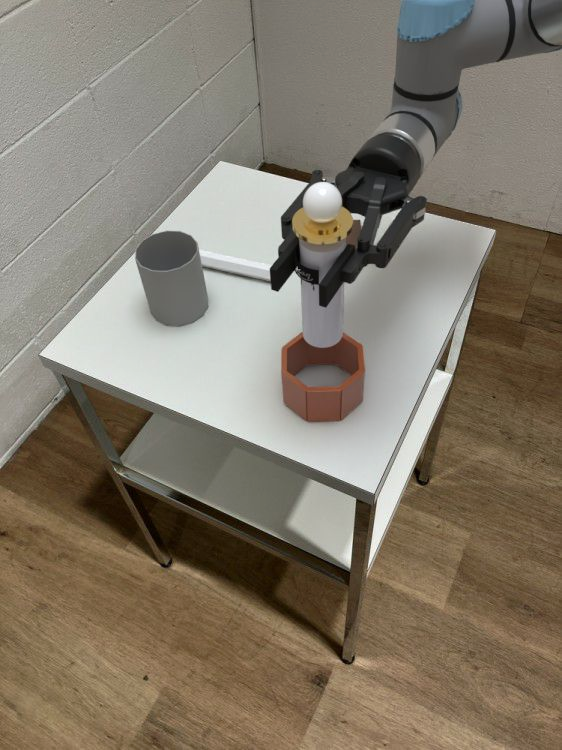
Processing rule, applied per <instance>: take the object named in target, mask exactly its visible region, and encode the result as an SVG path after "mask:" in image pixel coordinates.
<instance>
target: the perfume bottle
mask: <svg viewBox="0 0 562 750" xmlns="http://www.w3.org/2000/svg"><path fill="white" fill-rule="evenodd" d="M353 220H354V218H353V215H352V213H350V212H349V211H348V210H347V209H345V208H344V207H342V197H341V194H340V192H339V190H338V189H337V188H336V187H335V186H334V185H332V184H330V183H328V182H318V183H315V184H313V185H312V186H310V187H309V188H308V189H307V191H306V192H305V195H304V197H303V208H301V209H299V210H298V211H297V212H296V213H295V214H294V216H293V219H292V228H293V231H294V233H295V235H296V236H297V237H298V238H299V249H300V263H299V262H298V261H297V258H295V257H296V255H295V256H294V263H295V264H294V265H295V268H296V267H297V268H296V269H295V271H294V272H293V274H294V275H297V277H298V278H299V279H300V299H301V303H300V304H301V326H302V328H301V329H302V331H303V337H304V339H305V341H306V342H307V343H308V344H310V345H312V346H315V347H319V348H326V347H331V346H333V345H335V344H337V343H338V342H339V341H340V340H341V338H342V336H343V332H344V310H345V282H344V283H343V284H342V285H341V287H340V288H339V290H338V291H337V293H336V294H335V296H334V297H333V299H332V300H331V301H330V303H329V304H328V306H327V307H326V308H325V307H322V306H319V283H320V282H321V281H322V279H323V278H324V276H325V275H326V274H327V272H328V271H329V270H330V268H331V267H332V265H333V264H334V263H335V261H336V260H337V258H338V257H339V256H340V254H341V253H342V252H343V251H344V249H345V247H346V237H347V236H348V235H349V234H350V233H351V231H352V228H353ZM295 238H296V237H295ZM293 242H294V241H293ZM294 252H295V251H294ZM302 331H301V332H302Z"/></svg>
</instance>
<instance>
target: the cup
mask: <svg viewBox="0 0 562 750" xmlns="http://www.w3.org/2000/svg"><path fill="white" fill-rule="evenodd" d="M199 247H200V246H199V242H198V241H197V240H196V238H194V237H193V235H192V234H189V233H187V232H183V231H181V230H163V231H159V232H155V233H153V234H151V235H149V236H147V237H146V238H144V239H142V240H141V241H140V243H138V245H137V247H135V250H134V252H135V253H134V261H135V265H136V267H137V271H138V274H139V278H140V280H141V284H142V288H143V291H144V294H145V299H146V301H147V305H148V308H149V312H150V314H151V315H152V317H153V319H154V320H155V321H156V322H158V323H159V324H162V325H164V326H167V327H183V326H187V325H189V324H193V323H194V322H196V321H198V320H199V319H201V318H202V317H204V315H205V313H206V312H207V310H208V308H209V295H208V290H207V284H206V279H205V275H204V270H203V268H204V267H203V266H202V263H201V258H200V252H199V250H200V248H199Z"/></svg>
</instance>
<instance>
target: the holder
mask: <svg viewBox="0 0 562 750" xmlns="http://www.w3.org/2000/svg"><path fill="white" fill-rule="evenodd" d="M280 359H281V361H280V362H281V363H280V365H281V366H280V373H281V374H280V376H281V386H282V387H281V388H282V401H283V404H284V406H286V407H287V408H289V409H290V410H291V411H293V412H294V414H296V415H298V416H299V417H300V418H301V419H303V420H304V421H305V422H307V423H319V422H320V423H321V422H322V423H324V422H341V421H343V420H344V419H345V418H346V417H348V415H350V414H351V413H352V412H353V411H354V410H355V409H356V408H358V407H359V406H360V405H361V404H362V403H363V400H364V389H365V387H364V386H365V378H366V377H365V376H366V365H365V354H364V346H363V344H362V343H361V342H359V341H357V340H356V339H354V338H353V337H352V336H350V335H348V334H346V333H345V332H344V331H343V336H342V338H341V340H340V341H339V342H338V343H337V344H335V345H333V346H331V347H326V348H319V347H315V346H312V345H310V344H308V343H307V342H306V341H305V339H304V337H303V331H301V332H300V333H298V334H297V335H296V336H294V337H293V338H292V339H290V340H289V341H288V342H286V343H285V344H284V345H282V347H281V358H280ZM311 365H312V366H313V365H314V366H316V365H335V366H337V367H339V368H340V369H341V370H342V371H344V372H345V373H347V374H348V375H350V376H349V377H348V378H347V379H346V380H345V381H343V382H342V383H341V384H340V385H337V386H334V385H333V386H308V385H306V384H305V383H304V382H302V381H301V380H299V379H298V378H297V377H296V375H297V374H299V373H300V372H301V371H302V370H303V369H305V368H306V367H307V366H311Z"/></svg>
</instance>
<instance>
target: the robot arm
mask: <svg viewBox="0 0 562 750" xmlns="http://www.w3.org/2000/svg"><path fill="white" fill-rule="evenodd" d="M396 26H397V28H396V33H397V34H396V49H395V50H396V51H395V52H396V53H395V68H394V69H395V70H394V78H393V84H392V97H391V107H390V111H389V113H388V114H387V115H386V117H385V118H384V119H383V120H382V121H381V123H380V124H379V125H378V126H377V127H376V129H375V130H374V131H373V132H372V134H370V136H369V137H368V138H367V139H366V141H365V142H364V144H363V145H362V146H361V147H360V148H359V149H358V150H357V152H356V154H354V156H353V157H352V159H351V161H350V162H349V164H348V166H347V168H346V169H345V170H342V171H340V172H338V173H337V174H336V175H335V176H324V174H323V173H324V172H323V171H322V170H321V169H314V170H312V171H311V176H310V181H309V182H308V184H307V185H305V187H304V188H303V189H302V191H300V193H299V194H298V196H297V197H296V198H295V199H294V200H293V201H292V203H291V204H290V205H289V206H288V208H286V210H285V211H284V212H283V214H282V215H281V216H280V228H281V229H280V230H281V238H282V239H283V241H281V243H280V244H279V245H278V248H277V256H278V257H277V259H276V260H275V261H274V262H273V264H271V265H272V266H271V267H270V280H271V282H270V289H271V291H274V292H277V293H279V292H280V290H281V289H282V288H283V286H284V285H285V284H286V282H287V281H288V280H289V279H290V277H291V276H292V275H293V274H294V271H295V269H296V268H298V267H296V268H295V265H294V264H295V263H294V256H295V255H296V257H295V258H297V261H298V262H299V263H300V249H299V238H298V237H297V236H296V235H295V233H294V231H293V228H292V219H293V216H294V214H295V213H296V212H297V211H298V210H299V209H301V208H303V197H304V195H305V192H306V191H307V189H308V188H309V187H310V186H312V185H313V184H315V183H318V182H328V183H330V184H332V185H334V186H335V187H336V188H337V189H338V190H339V192H340V194H341V197H342V207H344V208H345V209H347V210H348V211H349V212H350V213H351V214H354V215H355V214H356V215H359V216H362V217H364V220H363V222H362V225H361V232H360V236H359V238H358V237H357V248H356V250H355V245H351V244H347V246H346V247H345V249H344V251H343V252H342V253H341V254H340V256H339V257H338V258H337V260H336V261H335V263H334V264H333V265H332V267H331V268H330V270H329V271H328V272H327V274H326V275H325V276H324V278H323V279H322V281H321V282H320V283H319V306H322V307H325V308H326V307H327V306H328V304H329V303H330V301H331V300H332V299H333V297H334V296H335V294H336V293H337V291H338V290H339V288H340V287H341V285H342V284H343V283H344V284H348V285H352V284H353V283H354V282H355V281H356V280H357V278H358V276H359V275H360V274H361V272H362V271H363V269H364V268H365V267H367V266H368V265H375V267H376V268H377V269H386V268H387V266H388V265H389V264H390V262H391V260H392V259H393V258H394V257H395V255H396V253H397V251H399V249H400V247H401V245H402V244H403V242H404V241H405V240H406V238H407V236H408V235H409V234H410V232H411V231H412V229H413V228H414V227H416V226H417V225H419V224H420V223H422V222H423V221H424V220H425V215H426V207H427V200H428V198H427V197H426V196H423V195H418V196H416V197H414V198H413V197H412V196H410V193H411V192H412V191H413V190H414V188H415V186H416V185H417V183H418V181H419V180H420V179H421V177H423V174H424V173H425V172H426V170H427V168H428V167H429V165H430V164H431V163H432V161H433V160H434V158H435V156H436V155H437V154H438V152H439V150H441V148H442V146H443V145H444V144H445V142H446V141H447V140H448V139H449V137H451V136H452V133H453V132H454V131H455V130H456V128H457V125H458V122H459V119H460V117H461V116H462V112H463V98H462V95H461V92H460V90H459V85H460V80H461V76H462V71H463V70H465V69H470V68H474V67H480V66H485V65H488V64H489V65H490V64H494V63H500V62H502V61H507V60H513V59H518V58H519V59H520V58H523V57H528V56H534V55H539V54H549V53H553V52H558V51H561V50H562V0H401V2H400V7H399V13H398V21H397V25H396ZM398 210H399V211H398ZM395 211H398V213H397V215H396V216H395V217H394V219H393V221H391V223H390V224H389V226H388V227H387V229H386V230H385V232H384V233H383V235H382V236H381V237H380V239H379V240H378V242H377V243H376V244H375V240H376V237H377V233H378V230H379V229H380V225H381V223H382V222H381V221H382V219H383V216H384V215H387V214H390V213H393V212H395ZM295 237H296V238H295ZM293 241H294V242H293ZM294 251H295V252H294Z"/></svg>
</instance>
